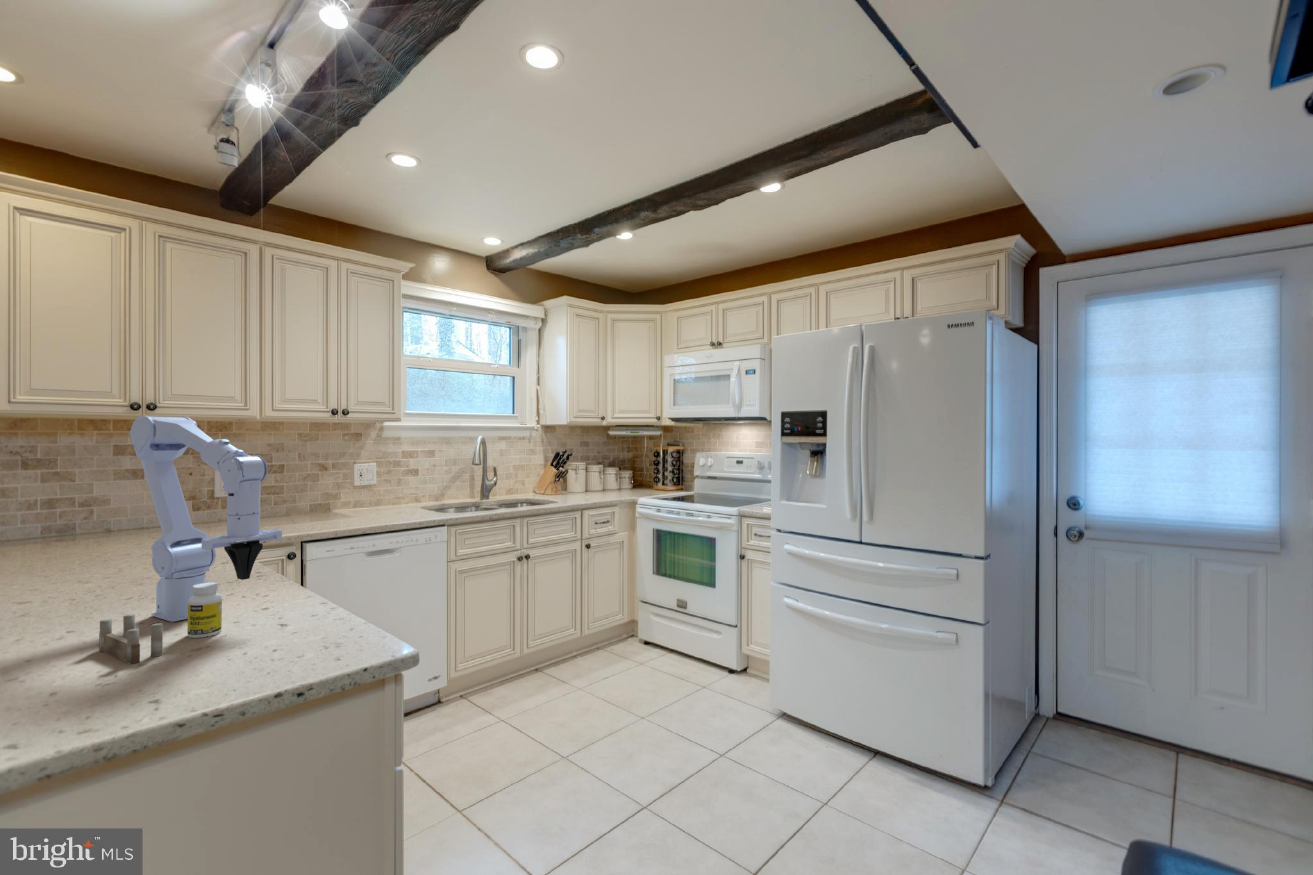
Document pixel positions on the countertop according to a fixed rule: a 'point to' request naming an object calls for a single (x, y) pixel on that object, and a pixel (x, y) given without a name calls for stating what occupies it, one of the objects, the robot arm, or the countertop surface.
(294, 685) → the countertop surface
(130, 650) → the pin seat
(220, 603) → the supplement bottle
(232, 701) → the countertop surface
